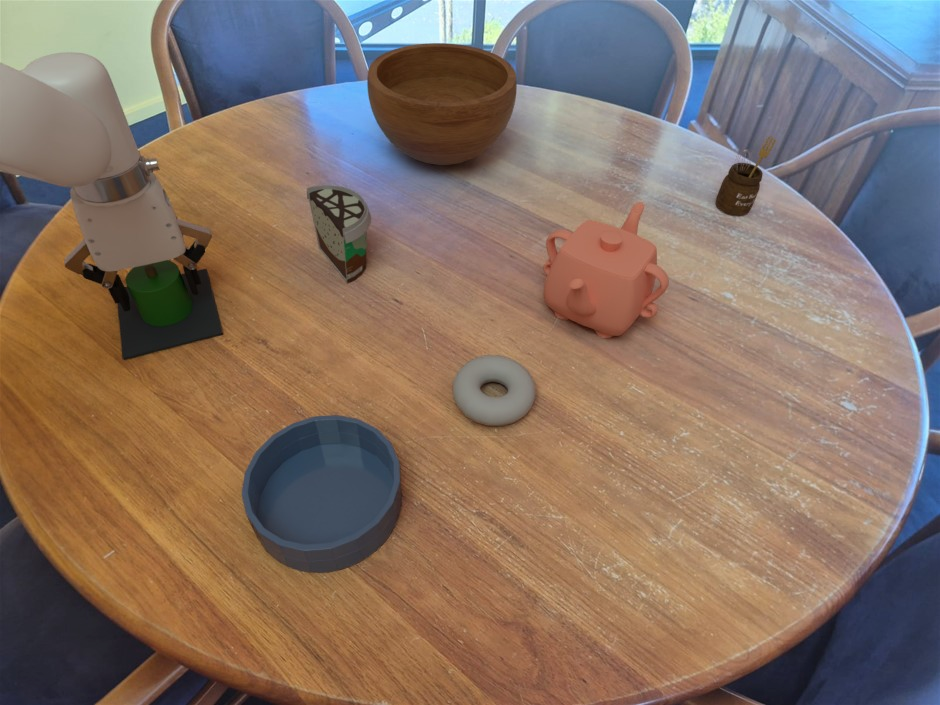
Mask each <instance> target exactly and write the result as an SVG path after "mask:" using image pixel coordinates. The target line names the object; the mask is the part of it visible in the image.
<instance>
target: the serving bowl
mask: <svg viewBox="0 0 940 705" xmlns="http://www.w3.org/2000/svg"><path fill="white" fill-rule="evenodd" d="M398 457H399V456H397V453H396V451H395V448H394V446H393V444H392V442H391V441H390V440H389V439H388V438H387V437H386V436H385V435H384V434H383V433H382V432H381V431H380V430H379V429H378V428H377V427H375V426H373V425H371V424H369V423H367V422H365V421H364V420H361V419H358V418H355V417H349V416H345V415H339V414H332V415H331V414H329V415H314V416H311V417H308V418H305V419H302V420H298V421H296V422H292V423H290V424H289V425H287V426H285V427H284V428H282V429H280V430H279V431H276V432H275V433H274V434H272V435H271V436H270V437H269V438H268V439H267V440H266V441H265V442H264V443H263V444H262V445H261V446H260V447H259V448H258V449H257V450H256V451H255V453H254V455H253V456H252V458H251V460H250V461H249V464H248V466H247V467H246V469H245V472H244V475H243V482H242V487H241V498H242V503H243V508H244V512H245V516H246V517H247V519H248V522H249V524H250V527H251V528H252V531H253V532H254V535H255V537H256V538H257V540H258V541H259V543H260V545H261V546H262V547H263V549H264V550H265V551H266V553H267V554H268V555H269V556H270V557H271V558H273V559H274V560H276V561H277V562H278V563H279V564H282V565H283V566H285V567H287V568H289V569H292V570H295V571H298V572H303V573H311V574H313V573H314V574H323V573H324V574H325V573H333V572H338V571H341V570H344V569H348V568H351V567H352V566H355V565H357V564H359V563H361V562H363V561H364V560H366V559H368V558H369V557H370V556H372V555H373V554H374V553H375V552H377V551H378V550H379V549H380V548H381V547H382V546H383V545H384V544H385V543H386V541H387V539H389V538H390V536H391V534H392V532H393V531H394V530H395V528H396V525H397V523H398V521H399V517H400V514H401V511H402V510H401V509H402V505H403V499H402V498H403V496H402V480H401V479H402V478H401V476H402V475H401V465H400V464H401V463H400V459H399V458H398Z"/></svg>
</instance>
